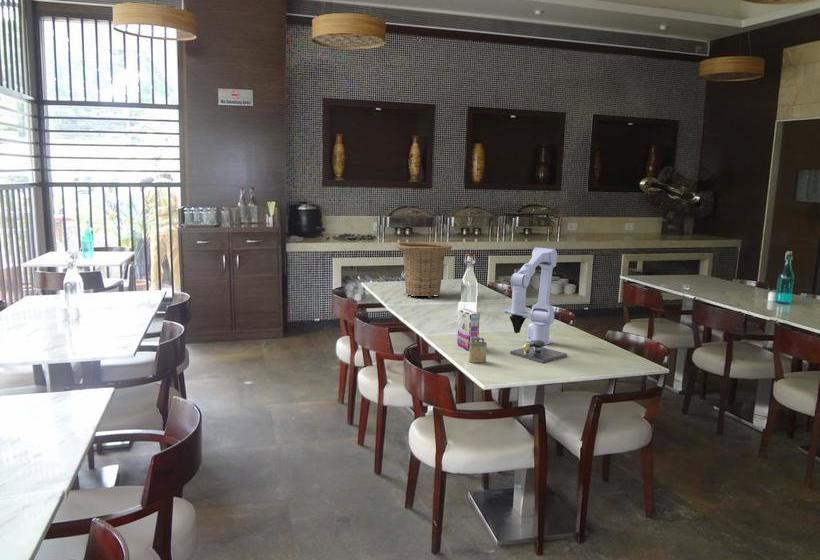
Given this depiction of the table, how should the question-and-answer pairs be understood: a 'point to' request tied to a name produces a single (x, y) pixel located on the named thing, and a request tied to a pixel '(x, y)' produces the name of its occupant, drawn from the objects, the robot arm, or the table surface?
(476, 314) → the candy bar box
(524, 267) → the robot arm
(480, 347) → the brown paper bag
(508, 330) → the table surface
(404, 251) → the wicker basket
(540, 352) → the lever base
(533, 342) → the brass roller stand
